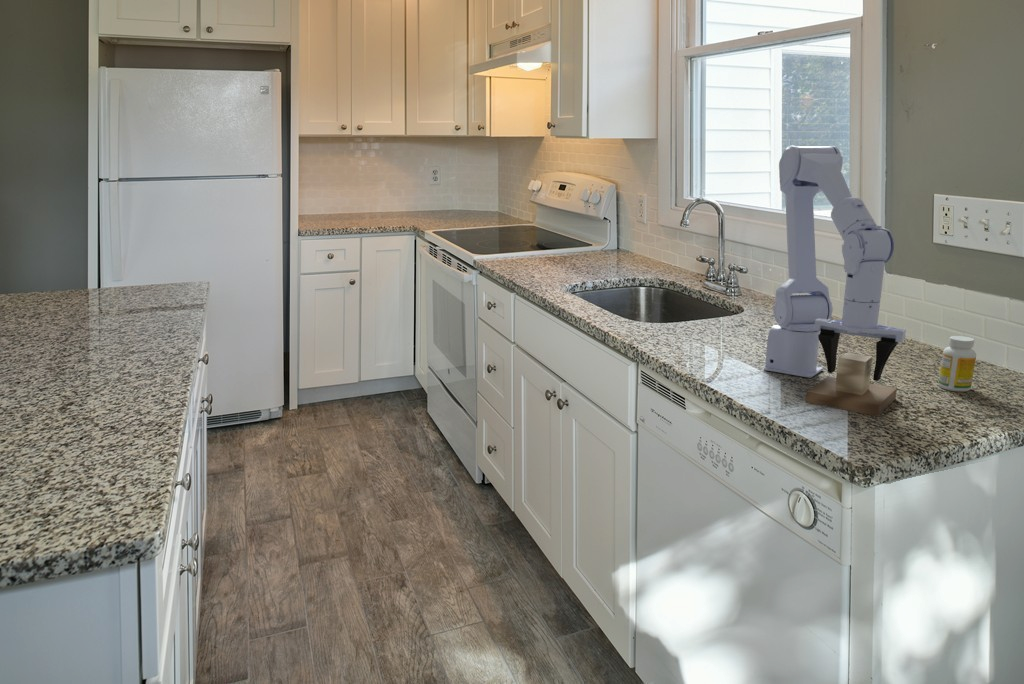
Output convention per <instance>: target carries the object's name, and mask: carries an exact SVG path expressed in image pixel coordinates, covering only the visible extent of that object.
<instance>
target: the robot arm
mask: <svg viewBox="0 0 1024 684" xmlns="http://www.w3.org/2000/svg"><path fill="white" fill-rule="evenodd" d="M839 149H840V148H839V147H837V146H836V145H828V146H823V145H821V146H820V145H819V146H814V145H813V146H810V145H809V146H799V145H798V146H797V145H789V146H787V147H786V148H785V150H784V151H782V154H781V157H780V159H779V162H778V170H779V171H778V172H779V173H778V174H779V187H780V188H779V189H780V191H781V192H782V194H784V196H785V197H784V198H785V217H786V218H785V220H786V245H787V246H786V247H787V262H788V263H787V268H788V269H787V270H788V279H787V280H786V281H785V282H784V283H783V284H781V285H780V286H779V287H778V288H776V290H775V299H774V304H773V317H774V320H775V322H776V323H777V324H773V325H772V326H771V328H769V332H768V336H767V342H766V351H765V352H766V353H765V363H764V367H763V370H764V371H768V372H769V371H770V372H775V373H779V374H785V375H791V376H796V377H797V376H798V377H802V378H803V377H804V378H808V379H809V378H811V379H812V378H813V377H814V376H816V375H817V374H819V373H821V371H823V370H824V367H822V366H819V365H818V357H819V346H820V345H821V347H822V350H823V353H824V356H825V361H826V367H827V373H828V374H832V373H834V372H835V371H836V368H837V367H836V366H837V354H838V353H837V352H838V347H839V341H840V337H841V336H840V335H841V334H844V335H852V336H858V337H866V338H873V339H879V340H878V341H877V342H876V343H875V364H874V370H873V377H872V378H873V379H872V380H873V381H876V382H878V381H879V380H880V379H882V375H883V374H882V373H883V370H884V368H885V365H886V364H887V362H888V359H889V358H890V356H891V354H892V353H893V351H894V350H895V348H896V347H897V345H898V344H899V343H900V344H901V343H903V342H904V341H906V331H907V329H905V328H897V327H892V326H887V325H883V324H879V315H880V306H881V299H882V298H881V297H882V289H883V282H884V281H883V280H884V273H885V272H884V271H885V264H886V263H889V262H890V260H891V259H892V257H893V256H894V253H895V240H894V239H895V238H894V236H893V233H892V231H891V230H890V229H888V228H884V227H883V226H881V225H878V224H877V222H876V221H875V220H874V218H873V216H872V215H871V213H870V211H869V209H868V208H867V205H865V202H864V200H863V199H861V198H859V197H853V196H852V193H851V191H850V189H849V186H848V183H847V181H846V178H845V177H844V175H843V173H842V169H843V162H844V157H843V156H842V153H841V151H840V150H839ZM820 192H822V193H823V194H824V196H825V197H826V199H827V200H828V202H829V203H830V204H831V206H832V210H831V211H830V219H831V220H832V222H833V224H834V226H835V227H836V229H837V231H838V233H839V235H840V236H841V239H842V240H843V244H842V245H841V252H842V257H843V263H844V264H843V269H844V272H845V273H846V278H845V289H844V299H843V307H842V317H841V319H832V316H833V310H834V308H833V304H832V301H831V298H830V293H829V292H830V291H829V287H828V286H827V285H826V284H825V283H823V282H822V281H821V280H820V279H818V277H817V263H816V262H817V261H816V240H815V239H816V238H815V237H816V236H815V213H814V198H815V196H816V195H817V194H818V193H820ZM796 294H797V295H796Z"/></svg>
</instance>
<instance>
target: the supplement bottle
mask: <svg viewBox="0 0 1024 684" xmlns="http://www.w3.org/2000/svg"><path fill="white" fill-rule="evenodd" d="M948 345H949V346H947V347H945V348H944V349H943V350H942V351H943V352H942V358H941V365H940V372H939V377H938V387H940V388H942V389H943V390H946V391H949V392H950V391H951V392H961V393H962V392H963V393H964V392H968V391H970V390H971V389H972V386H973V385H972V383H973V377H974V373H975V365H976V357H977V353H976V351H975V350H974V349H972V348H973V347H974V345H975V339H974V338H973V337H969V336H963V335H951V336H950V337H949V340H948Z"/></svg>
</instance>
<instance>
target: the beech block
mask: <svg viewBox="0 0 1024 684" xmlns="http://www.w3.org/2000/svg"><path fill="white" fill-rule="evenodd" d="M873 357H874V356H872V355H871V356H870V355H865V354H859V353H858V354H857V353H852V352H844V353H842V355H840V356H838V360H837V365H836V366H837V367H836V368H837V369H836V376H835V378H836V385H835V390H836V391H842V392H847V393H853V394H858V395H863V394H864V393H865V392H866V391H867V390H868V389H869V384H871V382H870V381H871V374H872V364H873Z"/></svg>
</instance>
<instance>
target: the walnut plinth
mask: <svg viewBox="0 0 1024 684" xmlns="http://www.w3.org/2000/svg"><path fill="white" fill-rule="evenodd" d="M835 385H836V376H835V377H834V376H826V377H825V378H823V379H822V380H821V381H819V382H817V383H816V384H814V385H813V386H812V387H811V388H809V389H808V390H806V394H805V403H809V404H812V405H813V404H815V405H819V406H823V407H828V408H835V409H839V410H844V411H849V412H855V413H860V414H864V415H870V416H875V417H879V416H880V415H881V414H882V413H883V412H884V411H885V410H887V408H888V407H889V406H890V405H891V404H892V403H893V402H894V401H895V400H896V398H897V391H898V388H897V387H894V386H893V387H892V386H887V385H882V384H877V383H876V384H875V383H870V384H869V389H868V390H867V391H866V392H865V393H864V394H863V395H858V394H853V393H847V392H842V391H836V390H835Z"/></svg>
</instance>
